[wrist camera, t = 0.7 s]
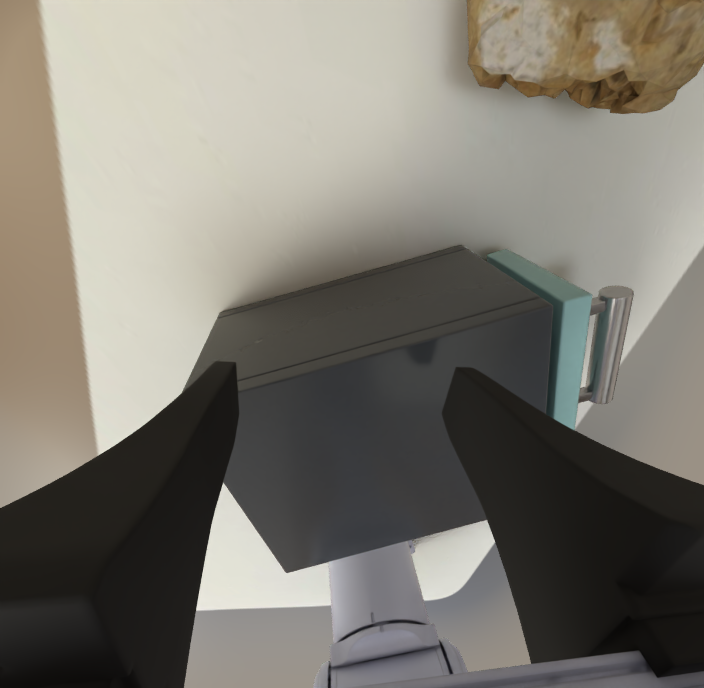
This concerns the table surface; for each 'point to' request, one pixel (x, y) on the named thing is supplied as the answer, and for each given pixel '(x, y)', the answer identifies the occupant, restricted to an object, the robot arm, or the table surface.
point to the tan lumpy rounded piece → (588, 49)
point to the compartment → (369, 400)
